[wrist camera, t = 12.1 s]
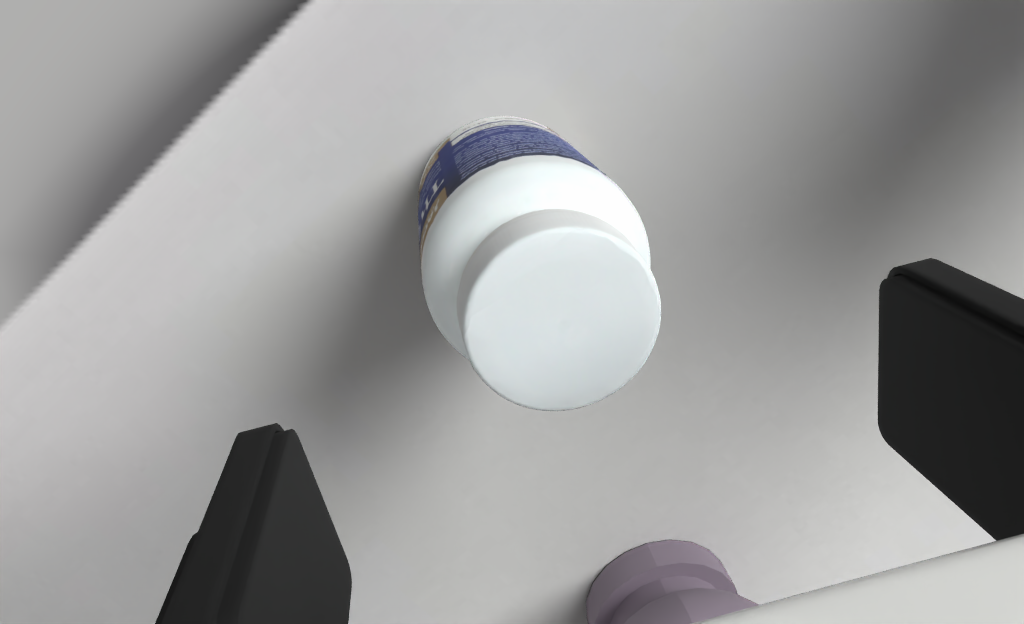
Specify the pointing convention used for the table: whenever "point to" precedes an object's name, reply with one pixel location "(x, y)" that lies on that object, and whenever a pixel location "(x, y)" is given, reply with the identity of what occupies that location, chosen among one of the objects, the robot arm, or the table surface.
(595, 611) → the mauve rounded figurine
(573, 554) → the table surface
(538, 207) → the pill bottle
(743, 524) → the table surface
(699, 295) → the table surface
